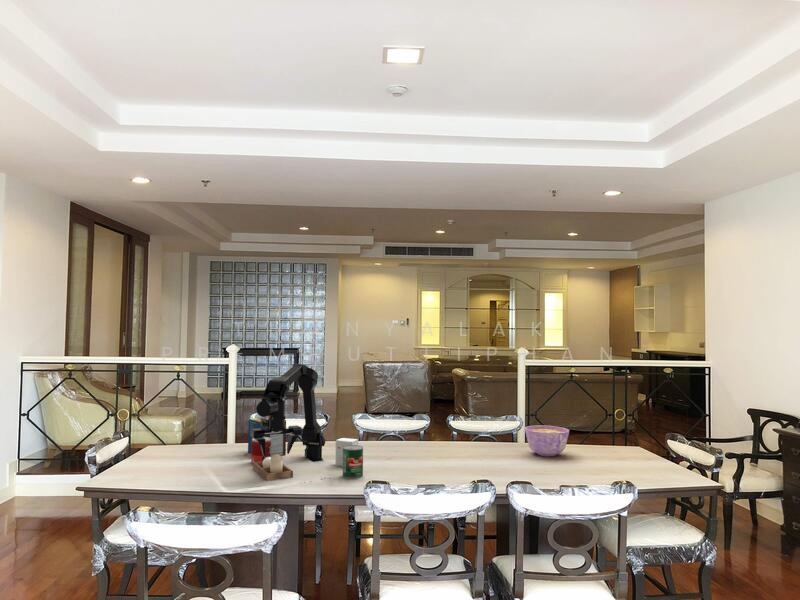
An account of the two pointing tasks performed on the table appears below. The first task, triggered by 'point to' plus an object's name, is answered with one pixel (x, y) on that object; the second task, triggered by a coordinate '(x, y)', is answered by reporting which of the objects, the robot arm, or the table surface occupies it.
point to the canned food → (257, 452)
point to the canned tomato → (352, 461)
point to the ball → (266, 462)
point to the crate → (272, 476)
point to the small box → (339, 448)
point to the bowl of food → (546, 439)
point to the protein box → (276, 440)
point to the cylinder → (276, 464)
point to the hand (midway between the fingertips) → (276, 454)
